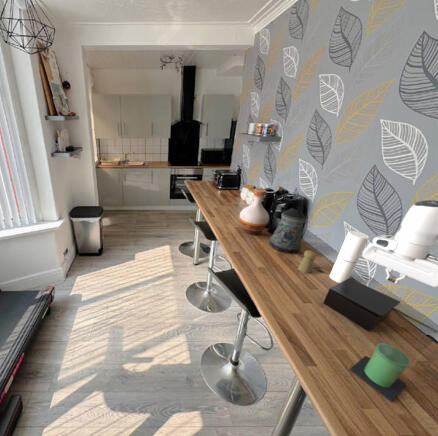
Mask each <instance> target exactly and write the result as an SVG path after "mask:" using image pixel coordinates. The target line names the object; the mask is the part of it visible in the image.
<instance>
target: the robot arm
mask: <svg viewBox="0 0 438 436" xmlns="http://www.w3.org/2000/svg"><path fill="white" fill-rule="evenodd" d="M436 244H438V200H433V199H431V200H430V199H429V200H421V201H417V202H415V203H414V204H413V205H411V207H410V208H409V209H408V211H407V212H406V214H405V216H403V219H402V221H401V223H400V228H399V230H398V231H397V232H396V233H395V234H394V235H389V234H380V235H377V236H375V237H374V238H373V239H372V242H371V243H368V244H367V246H365V247H364V249H363V251H362V253H361V255H362V258H363V259H364V260H367V261H369V262H372V263H375V264H377V265H379V266H382V267H383V268H385V273H386V277H385V280H387V281H388V282H391V283H393V284H395V285H396V284H399V282H400V280H403V279H405V278H408V277H409V278H410V279H414V280H415V281H418V282H420V283H422V284H425V285H427V286H430V287H432V288H438V256H436V255H433V254H430V253H431V251H432V249H433V248H434V246H435V245H436ZM393 271H394V272H396V273H399V276H395V275H393V273H392V272H393Z"/></svg>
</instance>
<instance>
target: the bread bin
mask: <svg viewBox="0 0 438 436" xmlns="http://www.w3.org/2000/svg"><path fill="white" fill-rule="evenodd" d="M323 304H324V305H325V306H327V307H328V308H330V309H332V310H333V311H334V312H336V313H338V314H340V315H341V316H342V317H344V318H346V319H347V320H349V321H350V322H352V323H354V324H355V325H357V326H358V327H360V328H362V329H364V330H365V331H367V332H370V331H371V330H374V328H375V327H377V326H378V325H379V324H380V323H382V322H383V321H384V320H386V319H387V318H389V316H390V314H391V312H392V311H393V309H392V310H390V311H389V312H388V313H386V314H385V315H384V316H382V317H379V316H377V315H375V314H374V313H372V312H370V311H368V310H366V309H364V308H362V307H360V306H359V305H357V304H355V303H353V302H351V301H349V300H347V299H345V298H344V297H342V296H340V295H338V294H336V293H334V292H332V291H330V290H329V289H328V291H327V293H326V295H325V298H324V299H323Z"/></svg>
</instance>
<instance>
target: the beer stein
mask: <svg viewBox="0 0 438 436" xmlns="http://www.w3.org/2000/svg"><path fill="white" fill-rule="evenodd" d="M306 221H307V216H305V214H304V213H303V212H302V210H301V208H300V207H299V206H292V207H291V208H289V209H286V210H284V211H283V212H281V218H280V220H279V222H278V224H277V226H276V229H275V230H274V232H273V233H272V235H271V236H270V237H269V246H270V247H271V248H272V249H274V250H276V251H278V252H280V253H283V254H291V255H295V254H298V252H299V251H300V249H301V248H302V243H301V239H302V234H303V227H304V223H305V222H306Z"/></svg>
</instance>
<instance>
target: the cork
mask: <svg viewBox="0 0 438 436" xmlns="http://www.w3.org/2000/svg"><path fill="white" fill-rule="evenodd" d="M317 256H318V254H317V252H315V251H314V250H310V249H308V250H305V251H304V253H303V258H302V259H301V261H300V263H299V265H298V267H297V269H298V271H299V272H301V273H304V274H312V272H313V267H314V266H313V265H314V261H315V259H317Z"/></svg>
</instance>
